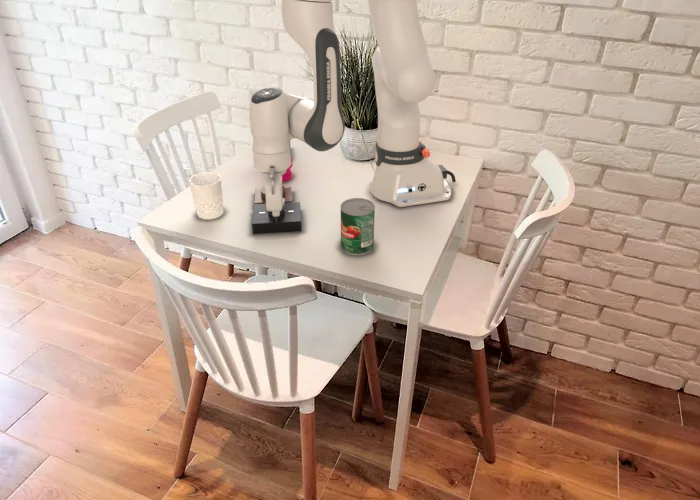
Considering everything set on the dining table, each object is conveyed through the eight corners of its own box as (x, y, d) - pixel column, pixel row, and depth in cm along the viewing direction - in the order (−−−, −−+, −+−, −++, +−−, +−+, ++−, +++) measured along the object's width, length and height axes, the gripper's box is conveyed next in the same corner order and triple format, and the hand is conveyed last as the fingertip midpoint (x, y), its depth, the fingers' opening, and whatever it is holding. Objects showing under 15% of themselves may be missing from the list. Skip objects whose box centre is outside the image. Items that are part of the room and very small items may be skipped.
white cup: (215, 223, 143) (210, 188, 137) (189, 217, 145) (182, 183, 140) (231, 209, 149) (226, 174, 143) (205, 203, 151) (200, 170, 146)
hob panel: (300, 211, 148) (299, 201, 146) (301, 231, 139) (301, 220, 138) (254, 214, 147) (253, 203, 145) (252, 234, 138) (251, 223, 137)
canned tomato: (335, 250, 132) (334, 210, 126) (348, 234, 138) (348, 195, 132) (366, 258, 130) (367, 217, 124) (378, 241, 136) (380, 201, 130)
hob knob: (285, 207, 143) (284, 194, 141) (285, 216, 140) (284, 202, 138) (267, 208, 143) (266, 195, 141) (267, 217, 139) (266, 203, 137)
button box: (291, 192, 157) (291, 181, 155) (292, 206, 150) (291, 195, 148) (255, 194, 156) (254, 183, 154) (254, 208, 149) (253, 196, 147)
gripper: (285, 177, 125) (289, 230, 133) (285, 141, 142) (288, 190, 150) (257, 178, 124) (262, 231, 132) (260, 142, 141) (264, 191, 149)
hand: (276, 209), depth 141 cm, fingers closed on hob knob, 4 cm apart
